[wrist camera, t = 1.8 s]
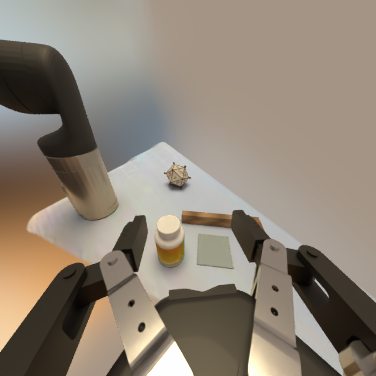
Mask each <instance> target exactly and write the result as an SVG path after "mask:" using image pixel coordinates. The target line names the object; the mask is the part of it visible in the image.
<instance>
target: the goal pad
mask: <svg viewBox="0 0 376 376" xmlns="http://www.w3.org/2000/svg"><path fill="white" fill-rule="evenodd" d="M197 265H206V266H214V267H223V268H231V269H233V263H232V257H231V251H230V245H229V239H228V237H224V236H215V235H205V234H199V236H198V258H197Z"/></svg>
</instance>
